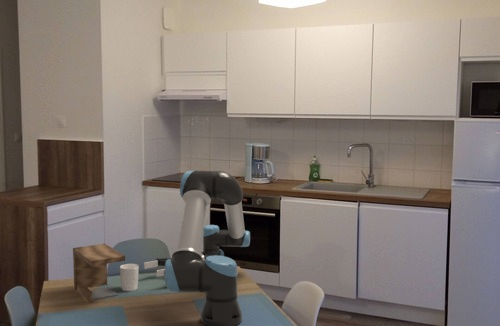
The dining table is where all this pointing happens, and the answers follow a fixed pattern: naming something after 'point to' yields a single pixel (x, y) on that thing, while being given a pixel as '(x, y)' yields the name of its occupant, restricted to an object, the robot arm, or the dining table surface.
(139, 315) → the dining table surface
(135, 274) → the white cup
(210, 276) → the robot arm
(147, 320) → the dining table surface
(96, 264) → the walnut shelf
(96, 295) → the felt pad
